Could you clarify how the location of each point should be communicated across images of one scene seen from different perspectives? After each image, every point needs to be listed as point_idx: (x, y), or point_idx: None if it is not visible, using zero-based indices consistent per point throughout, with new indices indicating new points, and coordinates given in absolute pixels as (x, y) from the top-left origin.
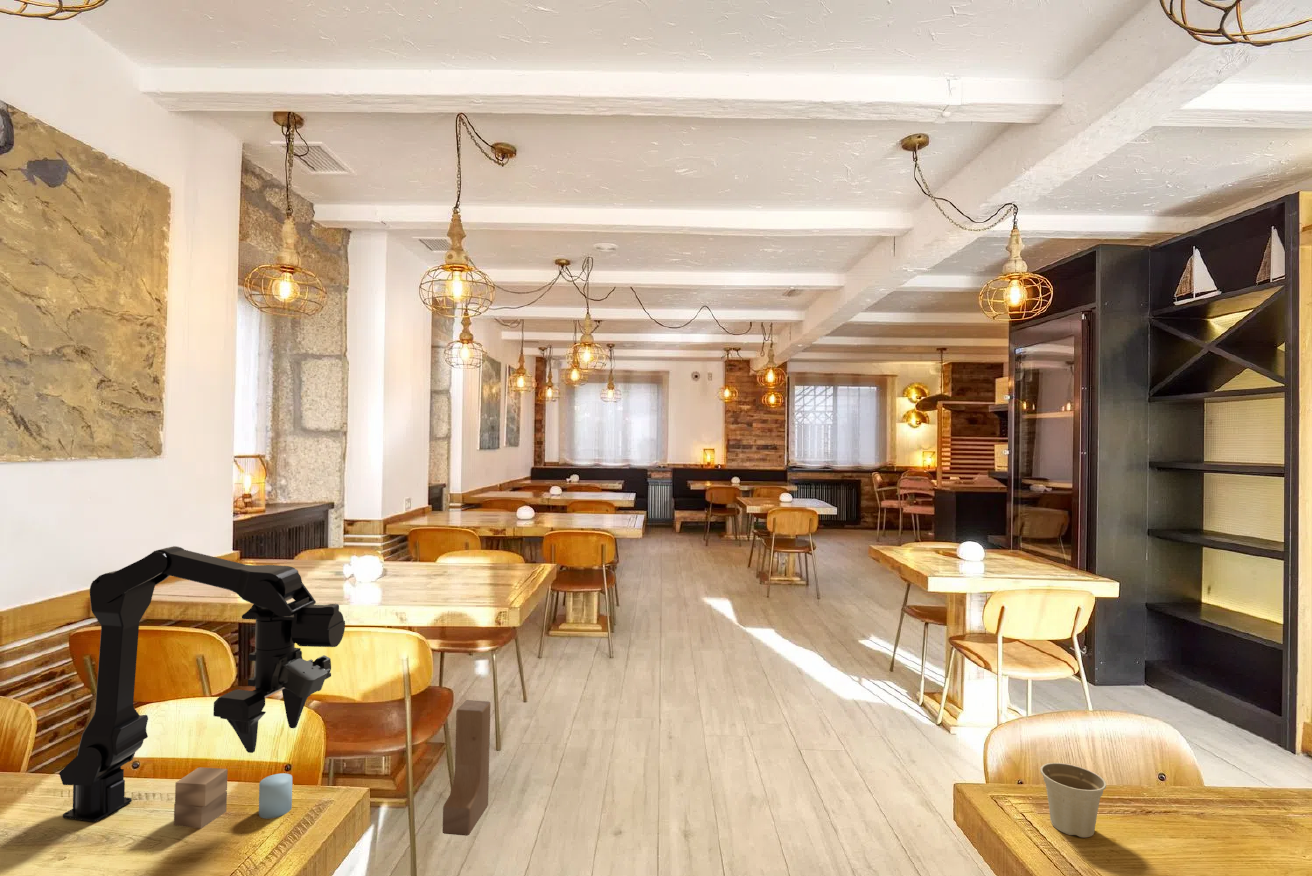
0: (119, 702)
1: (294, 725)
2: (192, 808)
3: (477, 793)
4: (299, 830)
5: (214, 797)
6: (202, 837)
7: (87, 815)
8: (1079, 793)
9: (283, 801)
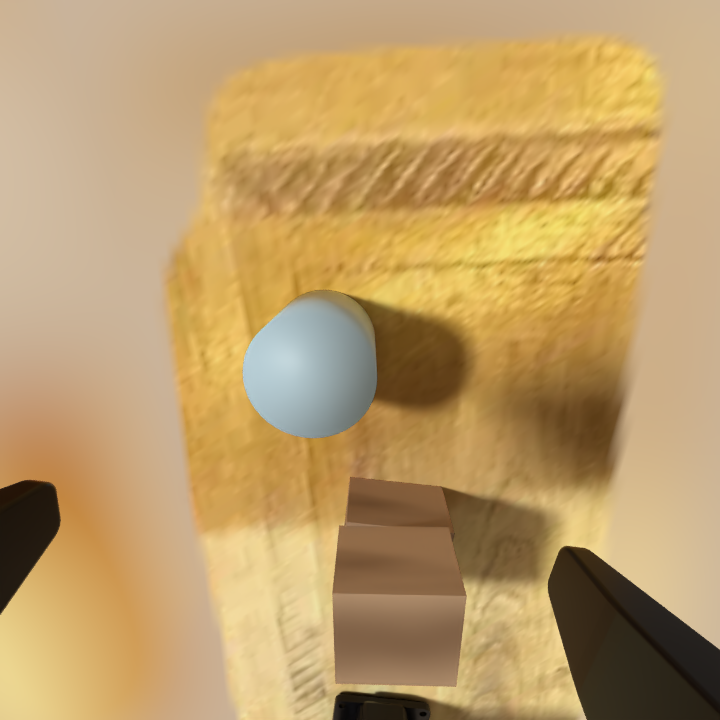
0: None
1: (33, 500)
2: None
3: None
4: (441, 172)
5: (404, 531)
6: (485, 457)
7: None
8: None
9: (346, 305)
